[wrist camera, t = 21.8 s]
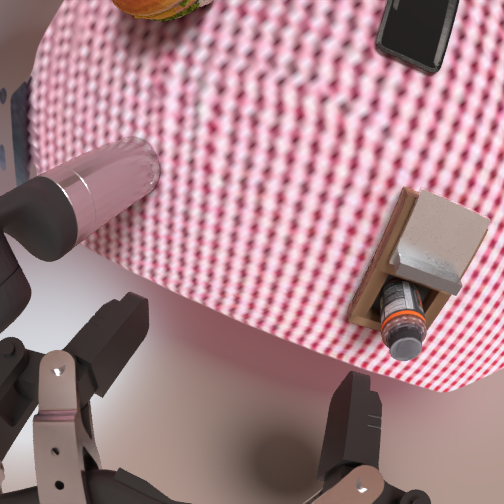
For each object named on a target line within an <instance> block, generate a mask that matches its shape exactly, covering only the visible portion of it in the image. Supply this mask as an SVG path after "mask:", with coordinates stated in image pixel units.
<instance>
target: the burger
mask: <svg viewBox="0 0 504 504" xmlns="http://www.w3.org/2000/svg"><path fill="white" fill-rule="evenodd" d="M112 1H113V3H114V5H115V6H117V7H118V8H119V9H120V10H122V11H123V12H126V13H128V14H131V15H134V18H136V19H138V18H142V19H151V20H156V21H161V20H162V22H165V21H168V20H172V21H173V20H174V19H177V18H180V17H182V16H185V15H186V14H188V13H190V12H192V11H195V10H196V8H198V7H199V6H200V7H202V6H204V5H207V4H209V3H210V2H211V1H212V0H112Z"/></svg>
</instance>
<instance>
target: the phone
mask: <svg viewBox="0 0 504 504" xmlns="http://www.w3.org/2000/svg"><path fill="white" fill-rule="evenodd" d="M458 4H459V0H388V2H387V6H386V9H385V13H384V16H383V19H382V23H381V26H380V29H379V33H378V36H377V39H376V44H377V46H378V48H379V49H380V50H381V51H383V52H385V53H387V54H388V53H389V54H390V55H392V56H395V57H397V58H399V59H402V60H404V61H406V62H408V63H411V64H413V65H415V66H417V67H419V68H421V69H423V70H425V71H427V72H430V73H434V72H438V71H439V70H440V68H441V65H442V62H443V59H444V56H445V52H446V49H447V46H448V42H449V39H450V35H451V31H452V28H453V24H454V20H455V16H456V12H457V8H458Z"/></svg>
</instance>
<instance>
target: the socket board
mask: <svg viewBox="0 0 504 504" xmlns="http://www.w3.org/2000/svg"><path fill="white" fill-rule="evenodd" d="M418 193H419V192H417V191H414V190H412V189H409V188H407V187H403V190H402V192H401V195H400V198H399V200H398V202H397V205H396V207H395V210H394V212H393V215H392V217H391V219H390V222H389V224H388V226H387V229H386V231H385V233H384V235H383V238H382V240H381V242H380V244H379V247H378V249H377V251H376V253H375V255H374V257H373V260H372V262H371V264H370V266H369V268H368V270H367V272H366V274H365V276H364V278H363V280H362V283H361V285H360V287H359V289H358V291H357V293H356V295H355V297H354V298H353V300H352V302H351V304H350V306H349V308H348V322H351V323H354V324H357V325H360V326H364V327H367V328H370V329H373V330H377V331H380V332H381V317H380V292H381V290H382V288H383V286H384V285H385V284H386V283H387V282H389V281H391V280H393V279H396V278H402V279H405V280H408V281H411V282H414V283H415V284H416V285H417V287H418V290H419V292H420V296H421V301H422V306H423V311H424V315H425V320H426V326H427V330H428V328H429V327H430V326H431V324H432V323H433V321H434V320H435V318H436V317H437V316H438V314H439V313H440V311H441V310H442V308H443V307H444V305H445V304H446V302H447V301H448V299H449V297H450V296H451V294H450V293H447V292H444V291H441V290H438V289H436V288H433V287H430V286H427V285H424V284H422V283H419V282H416V281H413V280H410V279H407V278H405V277H402V276H399V275H396V274H395V270H394V265H393V264H390V263H389V258H390V256H391V253H392V251H393V249H394V247H395V245H396V243H397V241H398V239H399V237H400V234H401V232H402V230H403V228H404V226H405V223H406V221H407V219H408V217H409V214H410V212H411V210H412V207H413V205H414V203H415V200H416V198H417V195H418ZM487 231H488V229H486V231H485V233H484V235H483V237H482V239H481V241H480V243H479V245H478V246H477V248H476V250H475V252H474V254H473V256H472V257H471V259H470V261H469V263H468V265H467V266H466V268H465V270H464V271H463V273H462V275H461V276H460V280H461V278H462V277H463V275H464V273H465V272H466V270H467V268H468V266H469V265H470V263H471V261H472V259H473V258H474V256H475V254H476V252H477V250H478V249H479V247H480V245H481V243H482V241H483V239H484V237H485V235H486V233H487Z"/></svg>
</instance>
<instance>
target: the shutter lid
mask: <svg viewBox="0 0 504 504" xmlns="http://www.w3.org/2000/svg"><path fill="white" fill-rule="evenodd" d="M490 221H491V220H490V219H489V218H488V217H486V216H484V215H482V214H480V213H478V212H476V211H474V210H472V209H470V208H468V207H466V206H463V205H461V204H459V203H457V202H455V201H453V200H450V199H448V198H446V197H444V196H441V195H439V194H437V193H435V192H432V191H430V190H428V189H425V188H423V187H421V188H420V190H419V193H418V195H417V198H416V200H415V203H414V205H413V207H412V210H411V212H410V214H409V217H408V219H407V221H406V223H405V226H404V228H403V230H402V232H401V234H400V237H399V239H398V241H397V243H396V245H395V247H394V249H393V251H392V253H391V256H390V258H389V263H390V264H393V265H394V270H395V274H396V275H399V276H402V277H405V278H407V279H410V280H413V281H416V282H419V283H422V284H424V285H427V286H430V287H433V288H436V289H438V290H441V291H444V292H447V293H450V294H452V295H455V296H456V295H457V294H458V292H459V291H460V289H461V288H462V283H461V281H460V276H461V275H462V273H463V271H464V270H465V268H466V266H467V265H468V263H469V261H470V259H471V257H472V256H473V254H474V252H475V250H476V248H477V246H478V245H479V243H480V241H481V239H482V237H483V235H484V233H485V231H486V229H487V227H488V225H489V223H490Z"/></svg>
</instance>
